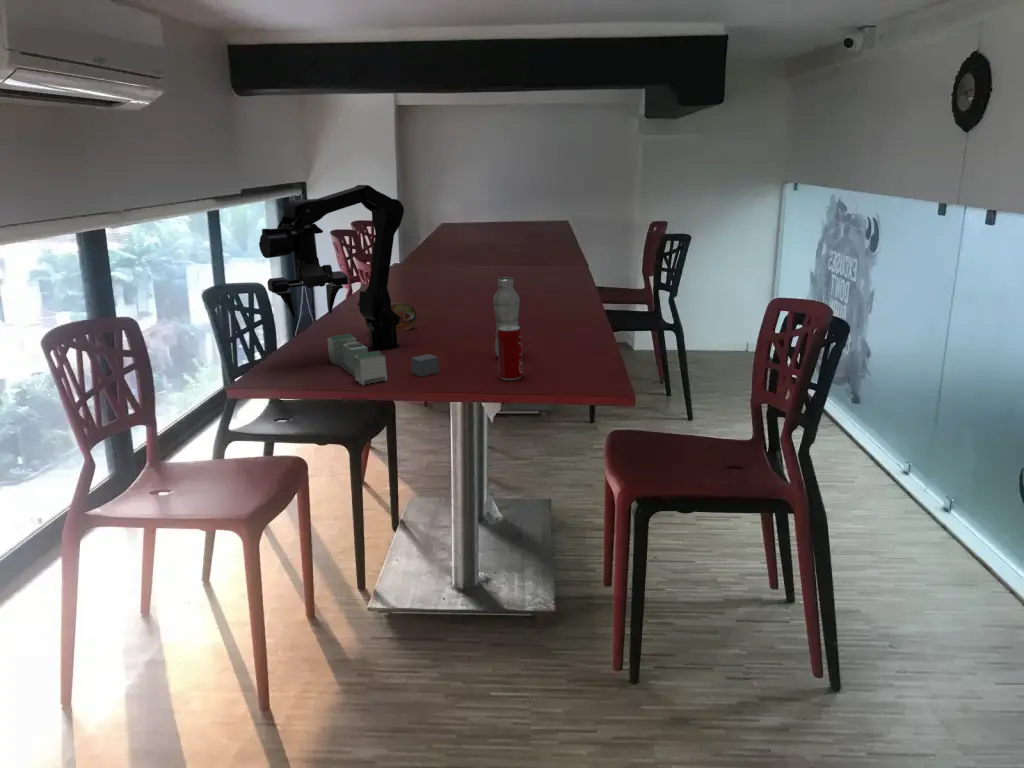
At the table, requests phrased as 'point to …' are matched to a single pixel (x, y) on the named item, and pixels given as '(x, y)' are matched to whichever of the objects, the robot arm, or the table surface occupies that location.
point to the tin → (403, 316)
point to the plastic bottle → (505, 305)
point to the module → (352, 352)
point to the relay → (424, 365)
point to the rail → (358, 361)
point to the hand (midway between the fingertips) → (312, 315)
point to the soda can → (510, 352)
